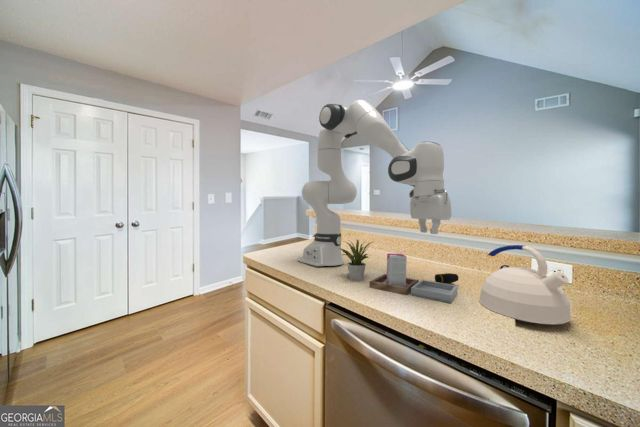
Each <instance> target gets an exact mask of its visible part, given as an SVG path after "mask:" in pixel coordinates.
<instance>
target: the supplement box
mask: <svg viewBox="0 0 640 427" xmlns="http://www.w3.org/2000/svg"><path fill="white" fill-rule="evenodd" d="M386 255H387V256H386V257H387V258H386V274H387V277H386V280H385V281H386V283H385V284H390V285H395V286H400V287H406V286H407V284H406V278H407V256H406V255H405V254H403V253H387V254H386Z"/></svg>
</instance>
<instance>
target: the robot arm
mask: <svg viewBox="0 0 640 427" xmlns="http://www.w3.org/2000/svg"><path fill="white" fill-rule="evenodd" d="M318 118H319V120H318V121H319V123H320V126H321V127H322V128H321V130H320V131H319V134H318V141H317V168H318V170H319V171H321V172H322V173H324V174H326V175H328V176H329V177H330V180H313V181H312V180H311V181H308V182H305V183H304V185H303V187H302V189H301V196H302V198H303V200H304V201H305V202H306V203H307V204H308V205H309V206H310V207H311V208H312V210H313V211H314V213H315V217H316V233H314V234H313V235H312V238H314V239H313V241H312V242H311V243H309V244H308V245H307V246H305V247H304V249H303V251H302V257H299V258H298V259H297V262H299V261H300V262H299V263H302V264H303V263H304V264H307V265H311V266H314V267H324V266H326V267H327V266H329V267H331V266H332V267H333V266H340V265H344V260H343V255H342V254H343V253H342V250H340V249H339V248H342V233H341V216H340V215H339V214H338V213H336V212H335V211H334V210H333V211H332V210H330V209H329V208H328V205H335V204H336V205H345V204H349V203H350V204H351V203H353V202H354V201H355V199H356V197H357V194H358V192H357V187H356V185H355V183H354V182H352V181H351V180H349V178H348V177H347V176H346V175H345V172H344V170H343V166H342V163H343V162H342V140H343V139H344V138H345V139H349V138H350V137H352V136H355V135H358V136H359V137H360V138H361V139H362V140H363V141H365V143H367V144H369V145H371V146H373V147H376V148H379V149H381V150H382V151H383V152H386V153H387V154H388V155H389V156H391V157H392V159H391V160H390V162H389V165H388V166H387V167H388V168H387V174H388V176H389V179H391V181H393V182H395V183H399V184H402V185H403V184H404V185H409V186H411V187H413V188H412V190H411V191H409V193H408V197H409V198H410V202H409V204H410V205H409V208H410V210H409V211H410V212H409V213H410V217H411V219H413V220H415V219H416V220H417V219H418V224H419V227H420V228H419V229H420V230H419V231H420V233H428V226H427V224H426V222H427V220H431V223H432V224H431V227H430V229H429V230H430V231H429V232H430V234H432V235H438V234H439V227H440V226H441V220H442V221H447V220H448V221H449V220H451V218H452V201H451V198H450V196H449V193H448V191H446V189H445V179H444V170H445V158H444V157H445V156H444V149H443V147H442V146H441V144H439V143H437V142H434V141H420V142H417V143H416V145H415V146H414V147H412V149H408V147H407V146H406V145H405V144H404V143H403V142H402V141H401V140H400V139H399V137H397V135H396V134H395V132H394V131H393V130H392V128H391V127H390V126H389V124H388V123H387V122H386V120H385V119H384V117H383V116H382V114H381V113H380V112H379V111H378V110H377V108H375V107H374V106H373V105H372V104H371V103H369V101H366V100H365V99H356V100H354V101H352V103H351V104H350V105H349V106H344V105H342V104H337V103H328V104H325V105H324V106H323V107H322V108H321V110H320V112H319V117H318Z"/></svg>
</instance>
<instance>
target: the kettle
mask: <svg viewBox="0 0 640 427" xmlns="http://www.w3.org/2000/svg"><path fill="white" fill-rule="evenodd" d="M510 250H511V251H512V250H520V251H526V252H528V253H530V254H531V255H532V256H533V257H534V259H535V261H536V262H537V270H536V269H533V268H530V267H525V266H509V265H508V264H507V265H506V264H503V265H501V266H500V267H499V269H498V270H496V271H494V272H492V273H491V274H489V276H488V277H486V278H485V280H484V281H483V283H482V285H481V289H480V296H479V300H478V301H479V302H480V304H481V305H482V306H483V307H484V308H486V309H488V310H490V311H492V312H494V313H496V314H499V315H502V316H505V317H509V318H511V319H514V320H517V321H522V322H527V323H533V324H539V325H563V324H566V323H568V322H570V321H571V320H572V316H571V306H570V305H571V304H570V300H569V298H568V297H567V295H566V293H565V291H564V289H562V286H565V285H567V284H569V281H570V280H569V278H568V276H567V275H566V274H564V273H563V272H561V271H554V273H552V274H550V275H547V274H548V263H547V260H546V259H545V257H544V256H543V255H542V253H541V252H540V251H538V250H537V249H535V248H533V247H530V246H527V245H523V244H521V245H520V244H510V245H505V246H500V247H498V248H495V249H493V250H491V251H490V252H489V253H488V256H490V257H495V256H497V255H498V254H500V253H502V252H507V251H510Z"/></svg>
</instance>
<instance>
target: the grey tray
mask: <svg viewBox="0 0 640 427" xmlns="http://www.w3.org/2000/svg"><path fill="white" fill-rule="evenodd" d="M458 289H459V288H458V285H456V284H451V283H448V284H444V283H438V282H436V281H432V280H431V281H430V280H425V279H420V280H419V282H418V283H416V284H415V285H414V286H412V287H411V292H410V296H413V297H418V298H422V299H426V300H432V301H437V302H442V303H447V304H452V302H453V301H454V300H455V298H456V296H457V294H458Z"/></svg>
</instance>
